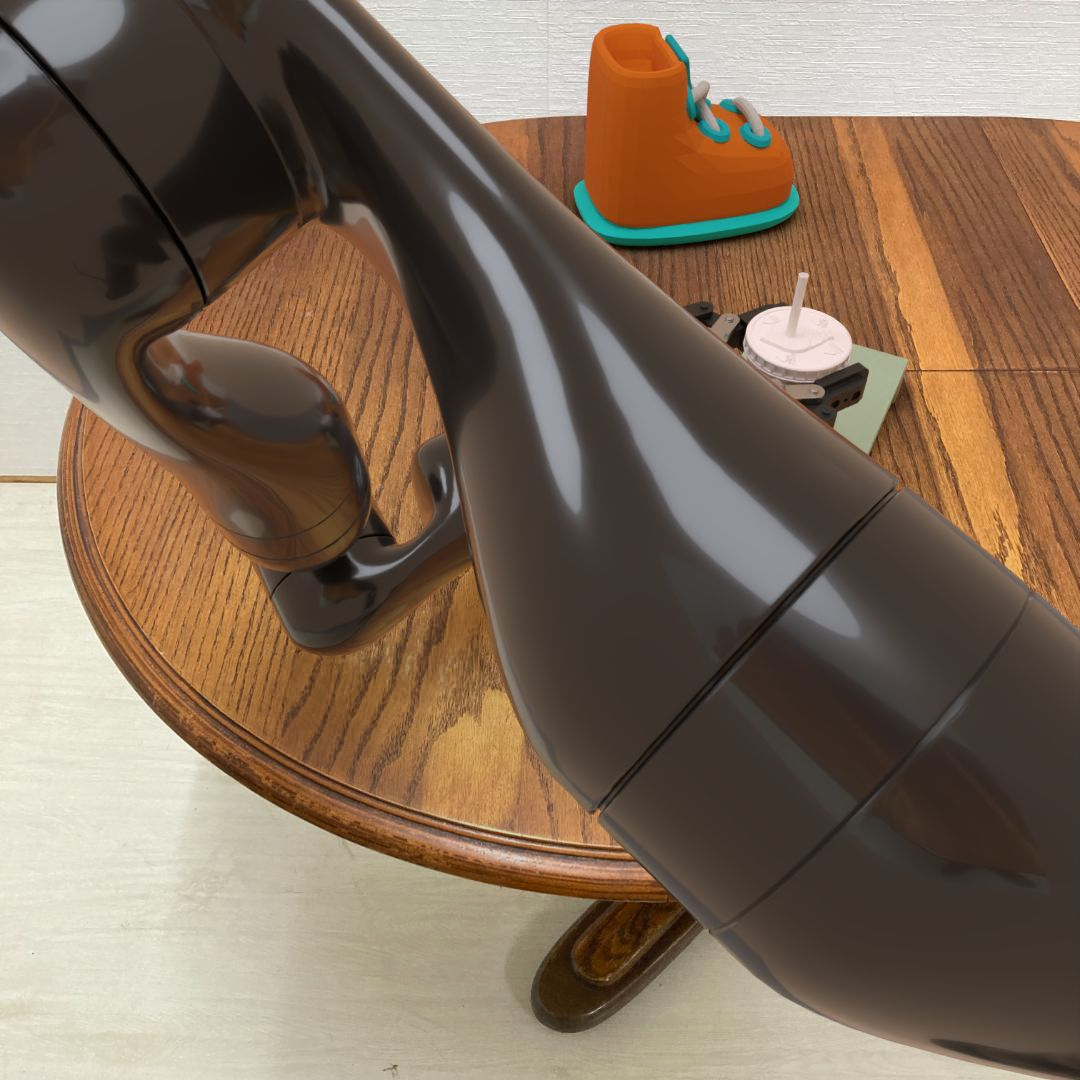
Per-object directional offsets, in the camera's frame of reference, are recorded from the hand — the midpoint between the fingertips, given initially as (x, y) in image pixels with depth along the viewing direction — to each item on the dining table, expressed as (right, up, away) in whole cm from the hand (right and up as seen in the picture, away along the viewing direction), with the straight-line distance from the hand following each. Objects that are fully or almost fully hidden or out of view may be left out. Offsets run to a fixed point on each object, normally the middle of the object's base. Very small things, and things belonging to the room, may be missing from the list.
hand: (823, 346), depth 68 cm
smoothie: (-2, -6, +5) cm, 9 cm away
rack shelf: (0, -5, +10) cm, 11 cm away
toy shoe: (-4, +17, +31) cm, 36 cm away
